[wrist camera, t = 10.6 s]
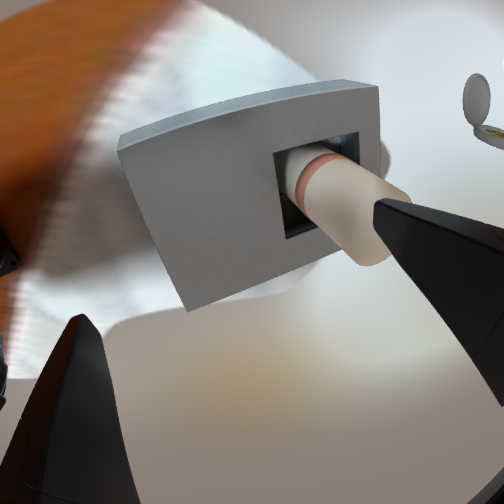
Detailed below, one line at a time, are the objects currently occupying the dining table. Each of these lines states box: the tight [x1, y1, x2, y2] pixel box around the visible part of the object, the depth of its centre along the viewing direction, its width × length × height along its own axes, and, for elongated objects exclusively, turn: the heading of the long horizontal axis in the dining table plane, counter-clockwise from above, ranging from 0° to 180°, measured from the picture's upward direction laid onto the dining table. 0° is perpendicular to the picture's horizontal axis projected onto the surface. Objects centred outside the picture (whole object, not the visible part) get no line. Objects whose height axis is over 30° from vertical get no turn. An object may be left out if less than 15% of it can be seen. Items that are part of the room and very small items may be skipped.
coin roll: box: [273, 142, 412, 266], centre depth 18 cm, size 4×4×10 cm
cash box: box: [117, 79, 380, 312], centre depth 20 cm, size 16×12×4 cm
